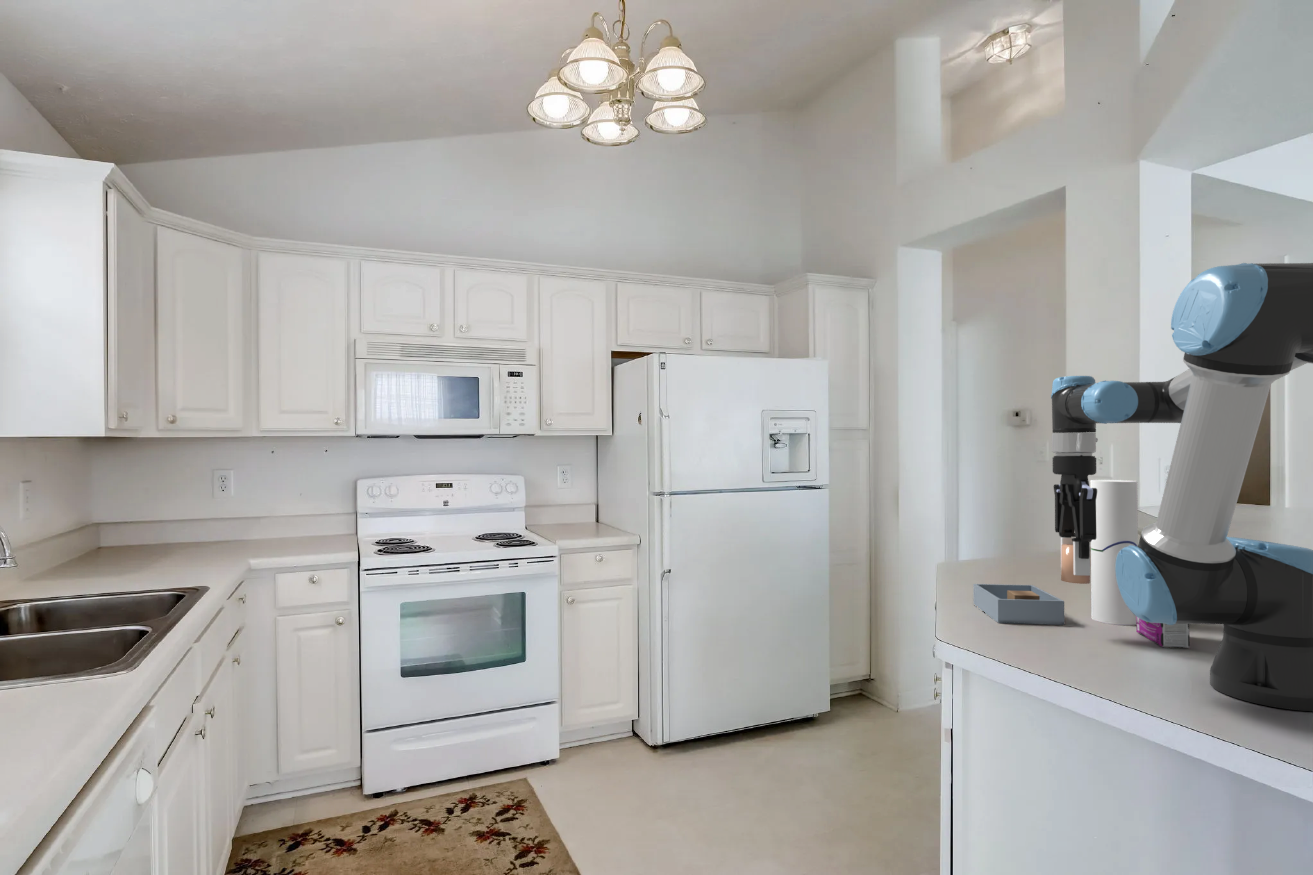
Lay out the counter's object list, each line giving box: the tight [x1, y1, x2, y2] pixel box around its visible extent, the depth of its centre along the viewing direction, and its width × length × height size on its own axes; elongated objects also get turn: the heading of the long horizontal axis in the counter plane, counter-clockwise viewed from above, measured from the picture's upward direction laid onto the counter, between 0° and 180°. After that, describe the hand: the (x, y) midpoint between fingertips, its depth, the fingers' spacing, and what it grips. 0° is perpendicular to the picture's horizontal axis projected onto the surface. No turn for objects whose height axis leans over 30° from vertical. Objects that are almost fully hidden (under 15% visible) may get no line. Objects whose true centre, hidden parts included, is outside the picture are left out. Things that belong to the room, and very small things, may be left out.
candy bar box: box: [1135, 616, 1191, 649], centre depth 139 cm, size 11×5×16 cm, turn 168°
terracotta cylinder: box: [1060, 544, 1091, 585], centre depth 142 cm, size 5×5×7 cm
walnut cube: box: [1007, 590, 1040, 600], centre depth 157 cm, size 5×5×5 cm
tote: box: [972, 583, 1065, 626], centre depth 161 cm, size 17×13×5 cm
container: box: [1089, 479, 1139, 626], centre depth 155 cm, size 9×9×30 cm
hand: (1075, 572), depth 142 cm, fingers closed on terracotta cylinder, 5 cm apart
